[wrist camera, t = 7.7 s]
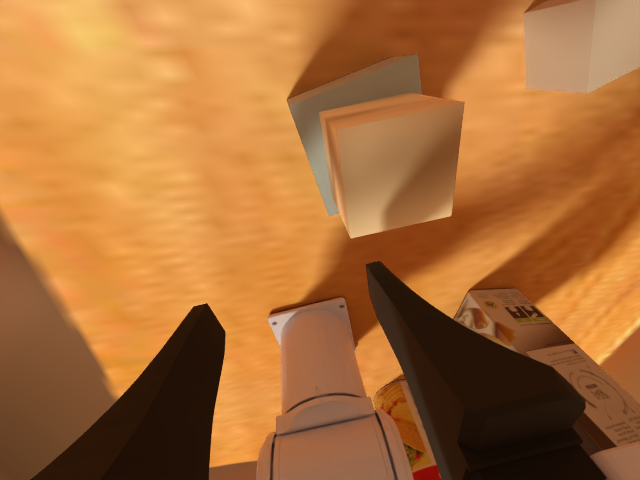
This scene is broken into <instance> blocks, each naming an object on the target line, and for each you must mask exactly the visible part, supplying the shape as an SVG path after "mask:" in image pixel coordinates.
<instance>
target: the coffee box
mask: <svg viewBox="0 0 640 480" xmlns="http://www.w3.org/2000/svg"><path fill="white" fill-rule="evenodd" d="M454 320H455V321H457V322H458V323H460V324H462V325H464V326H465V327H467V328H469V329H471V330H473V331H475V332H476V333H478V334H480V335H482V336H484V337H486V338H488V339H490V340H492V341H494V342H496V343H498V344H500V345H502V346H504V347H506V348H508V349H511V350H513V351H515V352H517V353H520V354H522V355H525V356H527V357H530V358H532V359H535V360H537V361H539V362H542V363H544V364H547V365H549V366H552V367H553V368H554V369H555V370H556V371H557V372H559V373H560V374H561V375H562V376H563V377H564V378H565V379H566V380H567V381H568V382H569V383H570V384H571V385H572V386H573V387H574V388H575V389H576V390H577V392H578V393H579V394H580V395H581V396H582V397H583V398H584V399H585V402H586V408H585V410H584V412H583V414H582V415H581V416H580V417H579V419H578V420H577V421H576V422H575V424H574V425H573V426H572V427H573V429H574V430H575V431H576V432H577V433H578V435H579V436H580V437H581V438H582V441H583V443H582V444H580V445H581V447H582V448H583V449H584V450H585V452H586V453H587V454H588V455H589V456H591V455H593V454H595V453H597V452H600V451H603V450H607V449H611V448H615V447H619V446H623V445H627V444H630V443H634V442H640V404H639V403H638V402H637V401H636V400H635V399H634V398H633V397H632V396H631V395H629V393H628V392H626V391H625V390H624V389H623V388H622V387H621V386H620V385H619V384H618V383H617V382H616V381H615V380H614V379H612V377H610V376H609V375H608V374H607V373H606V372H605V371H604V370H603V369H602V368H601V367H600V366H599V365H598V364H597V363H596V362H594V361H593V360H592V359H591V358H590V357H589V356H588V355H587V354H586V353H585V352H584V351H583V350H582V349H581V348H580V347H579V346H577V345H576V344H575V343H574V342H573V341H572V340H571V339H570V338H569V337H568V336H567V335H566V334H565V333H564V332H563V331H561V330H560V329H559V328H558V327H557V326H556V325H555V324H554V323H553V322H552V321H551V320H550V319H549V318H548V317H546V316H545V315H544V314H543V313H542V312H541V311H540V310H539V309H538V308H537V307H536V306H535V305H534V304H533V303H532V302H530V301H529V300H528V299H527V298H526V297H525V296H524V295H523V294H522V293H521V292H520V291H519V290H518V289H516V288H512V289H488V290H470V291H469V292H468V293H467V295H466V297H465V299H464V301H463V303H462V305H461V306H460V308H459V310H458V312H457V314H456V316H455V318H454Z"/></svg>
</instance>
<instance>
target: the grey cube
mask: <svg viewBox="0 0 640 480" xmlns="http://www.w3.org/2000/svg"><path fill="white" fill-rule="evenodd" d="M524 43H525V77H526V89H533V90H546V91H559V92H572V93H585V94H588V93H590V92H592V91H594V90H596V89H598V88H600V87H602V86H604V85H606V84H607V83H609V82H611V81H613V80H615V79H617V78H619V77H621V76H623V75H625V74H627V73H629V72H631V71H633V70H635V69H637V68H639V67H640V0H546V1H545V2H543V3H541V4H539V5H538V6H536V7H534V8H532V9H531V10H529V11H527V12H525V13H524Z"/></svg>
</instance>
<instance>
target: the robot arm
mask: <svg viewBox="0 0 640 480" xmlns="http://www.w3.org/2000/svg"><path fill="white" fill-rule="evenodd" d="M366 271H367V279H368V286H369V294H370V298H371V301H372V304H373V307H374V310H375V313H376V315H377V318H378V320H379V322H380V324H381V326H382V328H383V330H384V332H385V334H386V336H387V339H388V341H389V343H390V345H391V347H392V349H393V351H394V353H395V355H396V357H397V359H398V361H399V364H400V366H401V368H402V370H403V373H404V375H405V378H406V381H407V383H408V386H409V389H410V391H411V394H412V397H413V399H414V402H415V405H416V408H417V410H418V413H419V416H420V419H421V421H422V424H423V427H424V430H425V433H426V435H427V438H428V441H429V444H430V447H431V450H432V453H433V455H434V458H435V461H436V464H437V467H438V470H439V473H440V476H441V479H442V480H640V442H634V443H630V444H627V445H623V446H619V447H615V448H611V449H607V450H603V451H600V452H597V453H595V454H593V455H591V456H589V455H588V454H587V453H586V452H585V450H584V449H583V448H582V447H581V445H580V444H582V443H583V441H582V438H581V437H580V436H579V435H578V433H577V432H576V431H575V430H574V429H573V427H572V426H573V425H574V424H575V422H576V421H577V420H578V419H579V417H580V416H581V415H582V414H583V412H584V410H585V408H586V402H585V399H584V398H583V397H582V396H581V395H580V394H579V393H578V392H577V390H576V389H575V388H574V387H573V386H572V385H571V384H570V383H569V382H568V381H567V380H566V379H565V378H564V377H563V376H562V375H561V374H560V373H559V372H557V371H556V370H555V369H554V368H553V367H552V366H549V365H547V364H544V363H542V362H539V361H537V360H535V359H532V358H530V357H527V356H525V355H522V354H520V353H517V352H515V351H513V350H511V349H508V348H506V347H504V346H502V345H500V344H498V343H496V342H494V341H492V340H490V339H488V338H486V337H484V336H482V335H480V334H478V333H476V332H475V331H473V330H471V329H469V328H467V327H465V326H464V325H462V324H460V323H458V322H457V321H455V320H453V319H452V318H450V317H449V316H447V315H446V314H444V313H442V312H441V311H439V310H438V309H436V308H435V307H434V306H432V305H431V304H429V303H428V302H427V301H425V300H424V299H423V298H421V297H420V296H419V295H417V294H416V293H415V292H414V291H412V290H411V289H410V288H409V287H408V286H406V285H405V284H404V283H403V282H402V281H400V280H399V279H398V278H397V277H396V276H395V275H394V274H393V273H392V272H391V271H390V270H389V269H388V268H387V267H386V266H385V265H384V264H383V263H382V262H380V261H377V262H373V263H369V264H366ZM340 305H342V306H340ZM268 322H269V324H270V326H271V328H272V330H273V333H274V335H275V337H276V339H277V341H278V343H279V345H280V347H281V403H282V415H281V416H277V417H276V432H272V433H270V434H268V436H267V437H266V440H265V442H264V443H263V445H262V447H261V449H260V453H259V457H258V464H257V476H256V477H257V478H256V480H414V479H413V475H412V471H411V468H410V464H409V461H408V457H407V454H406V451H405V448H404V445H403V442H402V439H401V436H400V434H399V431H398V429H397V426H396V424H395V422H394V420H393V419H392V417H391V416H389V415H388V414H387V413H385V411H384V410H383V409H377V410H375V411H374V408H373V404H372V401H371V398H370V397H367V396H366V392H365V389H364V385H363V382H362V378H361V374H360V371H359V367H358V364H357V360H356V356H355V353H356V349H355V344H354V339H353V334H352V329H351V324H350V320H349V315H348V310H347V305H346V301H345V298H343V297H339V298H335V299H331V300H327V301H323V302H319V303H315V304H311V305H307V306H303V307H299V308H295V309H291V310H287V311H283V312H279V313H275V314H271V315H269V316H268ZM224 352H225V331H224V329H223V327H222V326H221V324H220V323H219V321H218V320H217V318H216V316H215V315H214V313H213V312H212V310H211V309H210V307H209V305H208V304H207V303H206V304H202V305H198V306H194V307H193V308H192V309H191V311H190V312H189V313H188V315H187V316H186V317H185V319H184V320H183V321H182V323H181V324H180V325H179V327H178V328H177V329H176V331H175V332H174V333H173V335H172V336H171V337H170V339H169V340H168V341H167V343H166V344H165V345H164V347H163V348H162V349H161V350H160V352H159V353H158V354H157V355H156V357H155V358H154V359H153V360H152V362H151V363H150V364H149V365H148V366H147V368H146V369H145V370H144V371H143V373H142V374H141V375H140V376H139V377H138V379H137V380H136V381H135V382H134V383H133V384H132V385H131V386H130V388H129V389H128V390H127V391H126V392H125V393H124V394H123V395H122V396H121V397H120V398H119V399H118V400H117V401H116V402H115V404H114V405H113V406H112V407H111V408H110V409H109V410H108V411H107V412H106V413H104V414H103V415H102V416H101V417H100V418H99V419H98V420H97V421H96V422H95V423H94V424H93V425H92V426H91V427H90V428H89V429H88V430H87V431H86V432H85V433H84V434H83V435H82V436H81V437H79V438H78V439H77V440H76V441H75V442H74V443H73V444H72V445H71V446H70V447H69V448H67V449H66V450H65V451H64V452H63V453H62V454H61V455H59V456H58V457H57V458H56V459H55V460H54V461H52V462H51V463H50V464H49V465H48V466H47V467H46V468H44V469H43V470H42V471H41V472H39V473H38V474H37V475H36V476H35V477H34V478H32V479H31V480H209V462H210V446H211V434H212V423H213V415H214V408H215V402H216V397H217V392H218V387H219V381H220V376H221V371H222V365H223V359H224Z"/></svg>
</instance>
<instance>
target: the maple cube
mask: <svg viewBox="0 0 640 480" xmlns="http://www.w3.org/2000/svg"><path fill="white" fill-rule="evenodd" d="M463 111H464V102H461V101H455V100H450V99H444V98H438V97H433V96H427V95H421V94H416V93H410V92H409V93H405V94H400V95H395V96H391V97H386V98H381V99H377V100H372V101H367V102H363V103H358V104H353V105H348V106H344V107H339V108H334V109H330V110H325V111H320V112H319V117H320V123H321V130H322V136H323V142H324V148H325V155H326V161H327V167H328V173H329V180H330V186H331V192H332V197H333V200H334V202H335V204H336V207H337V209H338V211H339V213H340V216H341V218H342V220H343V222H344V225H345V227H346V229H347V232H348V234H349V236H350V238H355V237H360V236H364V235H369V234H373V233H378V232H382V231H387V230H391V229H396V228H400V227H405V226H409V225H414V224H418V223H423V222H427V221H431V220H436V219H440V218H445V217H449V216H451V214H452V205H453V197H454V188H455V180H456V171H457V162H458V154H459V145H460V137H461V128H462V120H463Z"/></svg>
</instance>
